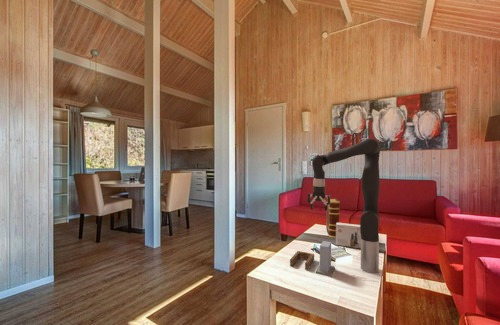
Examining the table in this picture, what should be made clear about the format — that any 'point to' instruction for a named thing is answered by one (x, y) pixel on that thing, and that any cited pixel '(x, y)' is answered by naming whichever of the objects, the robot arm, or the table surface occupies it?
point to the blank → (325, 256)
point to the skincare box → (348, 235)
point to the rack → (302, 255)
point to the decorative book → (332, 217)
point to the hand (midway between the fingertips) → (318, 210)
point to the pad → (325, 272)
